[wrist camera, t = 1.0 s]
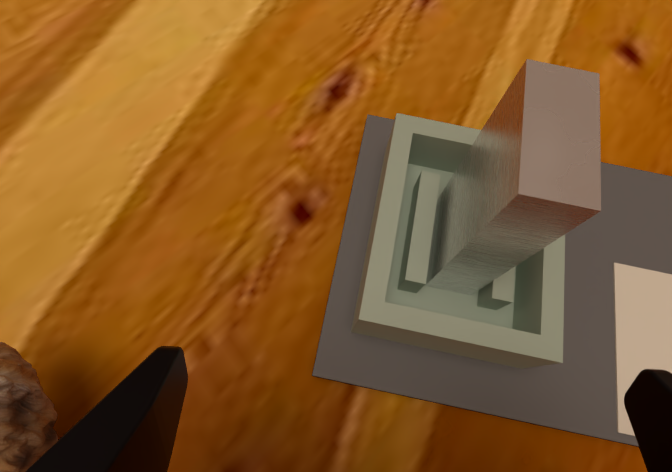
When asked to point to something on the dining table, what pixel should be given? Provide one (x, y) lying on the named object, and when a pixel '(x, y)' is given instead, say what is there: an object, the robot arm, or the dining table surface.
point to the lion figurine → (22, 414)
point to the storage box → (413, 257)
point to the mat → (579, 314)
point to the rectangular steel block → (520, 179)
